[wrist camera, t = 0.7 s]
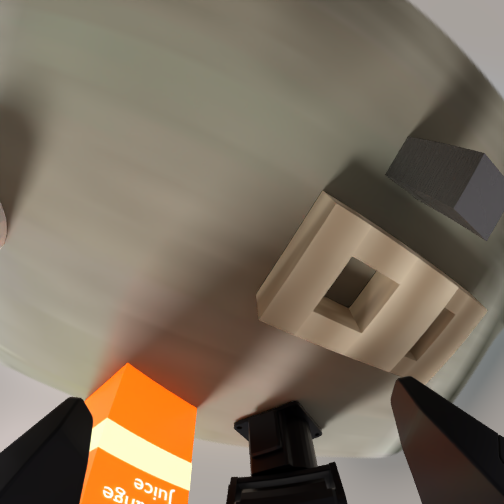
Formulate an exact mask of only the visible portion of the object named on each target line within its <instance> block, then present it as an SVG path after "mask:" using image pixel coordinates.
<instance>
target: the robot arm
mask: <svg viewBox="0 0 504 504" xmlns="http://www.w3.org/2000/svg"><path fill="white" fill-rule="evenodd" d="M391 406H392V410H393V413H394V417H395V421H396V425H397V429H398V433H399V437H400V441H401V445H402V448H403V451H404V454H405V457H406V459H407V462H408V465H409V468H410V470H411V473H412V475H413V478H414V481H415V484H416V487H417V490H418V493H419V496H420V498H421V502H422V504H504V437H502V436H501V435H498V433H496V432H495V431H493V430H492V429H490V428H488V427H487V426H485V425H484V424H482V423H481V422H480V421H478V420H476V419H475V418H473V417H472V416H470V415H469V414H467V413H466V412H464V411H463V410H461V409H460V408H458V407H457V406H455V405H454V404H452V403H451V402H449V401H448V400H446V399H445V398H443V397H442V396H440V395H439V394H437V393H436V392H434V391H433V390H431V389H430V388H428V387H427V386H425V385H424V384H422V383H421V382H420V381H418V380H417V379H415V378H414V377H412V376H405V377H400V378H398V379H397V380H396V382H395V385H394V389H393V392H392V396H391ZM92 428H93V416H92V414H91V412H90V411H89V409H88V407H87V405H86V404H85V402H84V400H83V399H81V398H78V397H69V398H68V399H66V400H65V401H64V402H62V403H61V404H60V405H59V406H57V407H56V408H55V409H54V410H52V411H51V412H50V413H49V414H48V415H46V416H45V417H44V418H43V419H41V420H40V421H39V422H38V423H36V424H35V425H34V426H33V427H31V428H30V429H29V430H28V431H27V432H25V433H24V434H23V435H22V436H20V437H19V438H18V439H17V440H16V441H14V442H13V443H12V444H11V445H9V446H8V447H7V448H6V449H4V450H3V451H2V452H1V453H0V504H80V499H81V494H82V489H83V484H84V480H85V475H86V470H87V465H88V459H89V451H90V443H91V436H92ZM234 429H235V430H236V431H237V432H239V433H240V434H241V435H242V436H243V437H244V438H245V439H247V440H248V441H249V454H250V464H251V465H250V466H251V477H240V478H238V477H231V482H230V485H229V486H228V495H227V502H226V504H347V500H346V496H345V492H344V489H343V486H342V483H341V479H340V476H339V473H338V470H337V466H336V463H335V462H332V463H329V464H327V465H322V466H317V461H316V455H315V450H314V445H313V441H312V439H314V438H317V437H319V436H321V435H322V431H321V429H320V428H319V427H318V425H317V424H316V423H315V422H314V420H313V419H312V418H311V417H310V416H309V414H308V413H307V412H306V411H305V410H304V408H303V407H302V406H301V405H300V403H299V402H297V401H292V402H289V403H287V404H284V405H282V406H279V407H277V408H274V409H271V410H269V411H266V412H263V413H261V414H258V415H255V416H252V417H249V418H247V419H244V420H241V421H238V422H235V423H234Z"/></svg>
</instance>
